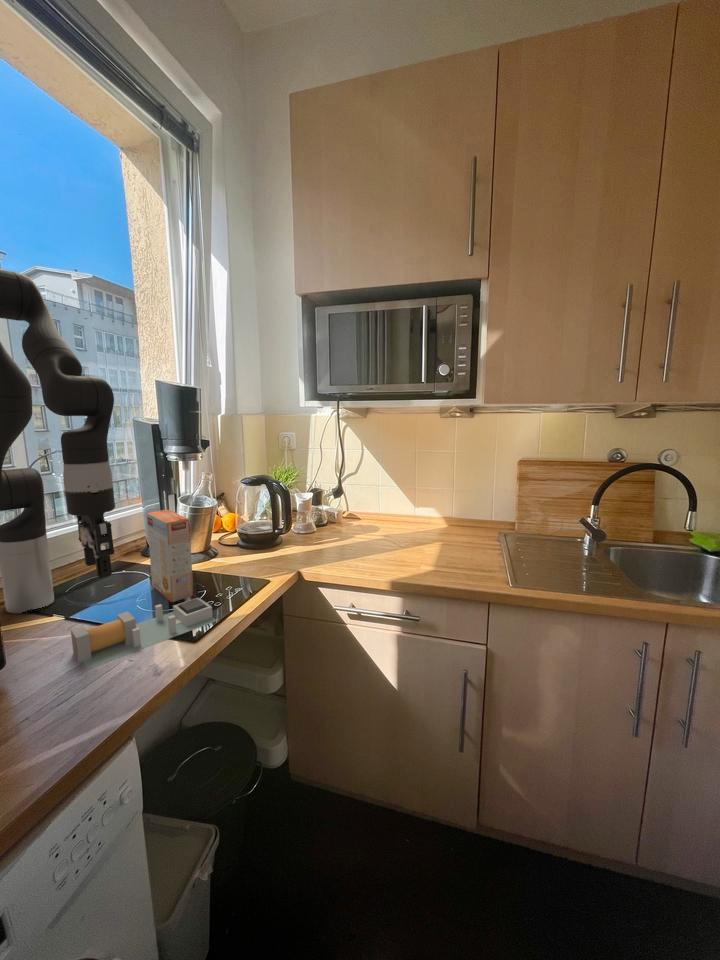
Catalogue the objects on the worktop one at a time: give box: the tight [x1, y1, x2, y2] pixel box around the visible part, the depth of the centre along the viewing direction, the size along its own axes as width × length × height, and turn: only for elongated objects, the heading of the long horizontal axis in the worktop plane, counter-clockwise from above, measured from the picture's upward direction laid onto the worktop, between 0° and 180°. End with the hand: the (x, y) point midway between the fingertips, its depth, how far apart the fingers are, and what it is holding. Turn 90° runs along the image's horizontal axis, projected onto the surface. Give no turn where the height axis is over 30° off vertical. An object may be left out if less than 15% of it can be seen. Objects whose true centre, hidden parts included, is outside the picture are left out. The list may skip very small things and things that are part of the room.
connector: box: [179, 598, 205, 614], centre depth 94 cm, size 4×4×3 cm
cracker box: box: [146, 509, 194, 603], centre depth 106 cm, size 14×6×21 cm, turn 44°
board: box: [82, 597, 218, 670], centre depth 87 cm, size 11×25×4 cm, turn 136°
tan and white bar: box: [70, 611, 137, 663], centre depth 81 cm, size 4×10×5 cm, turn 136°
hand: (98, 570), depth 79 cm, fingers open, 8 cm apart
